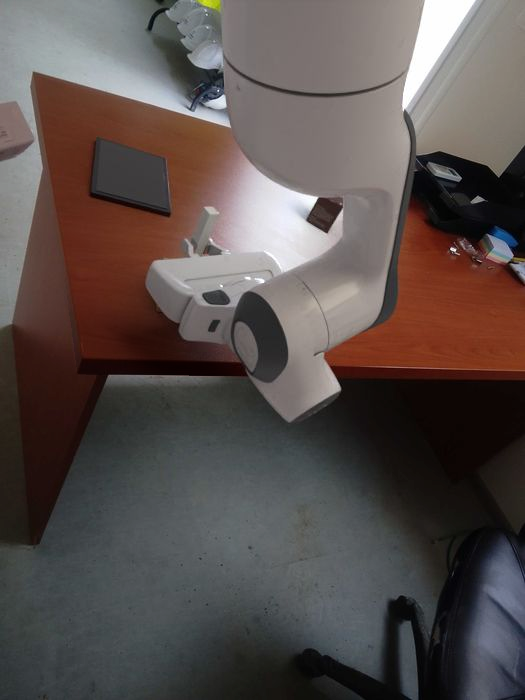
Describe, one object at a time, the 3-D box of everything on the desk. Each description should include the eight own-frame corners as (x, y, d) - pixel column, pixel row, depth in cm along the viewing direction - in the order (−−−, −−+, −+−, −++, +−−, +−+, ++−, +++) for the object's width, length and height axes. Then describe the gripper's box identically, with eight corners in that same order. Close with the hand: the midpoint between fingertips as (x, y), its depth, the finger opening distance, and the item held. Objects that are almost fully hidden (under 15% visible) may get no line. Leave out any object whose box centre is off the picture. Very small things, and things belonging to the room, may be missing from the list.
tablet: (169, 217, 85) (171, 212, 84) (90, 196, 79) (91, 191, 78) (164, 162, 97) (166, 157, 96) (95, 141, 91) (96, 136, 90)
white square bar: (177, 296, 69) (209, 214, 59) (172, 288, 70) (203, 206, 60) (185, 294, 70) (219, 213, 60) (181, 287, 71) (213, 206, 61)
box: (332, 224, 111) (348, 198, 106) (327, 233, 107) (343, 207, 102) (311, 211, 111) (326, 185, 106) (305, 220, 106) (320, 193, 102)
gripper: (311, 285, 64) (257, 221, 69) (187, 305, 50) (133, 225, 56) (290, 316, 68) (242, 253, 73) (171, 342, 54) (122, 264, 60)
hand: (194, 241), depth 64 cm, fingers closed on white square bar, 1 cm apart
